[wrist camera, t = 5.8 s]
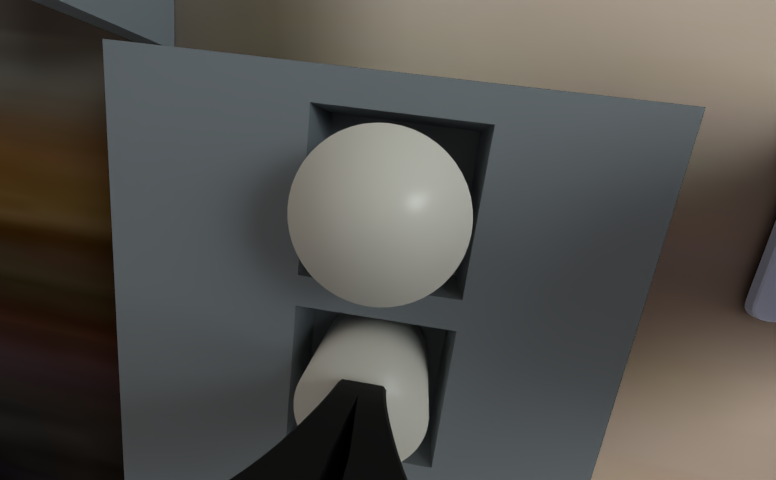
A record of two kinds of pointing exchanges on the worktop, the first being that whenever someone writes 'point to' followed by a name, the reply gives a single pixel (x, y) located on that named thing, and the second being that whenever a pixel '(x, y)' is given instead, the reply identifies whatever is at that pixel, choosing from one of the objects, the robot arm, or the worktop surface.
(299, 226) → the button
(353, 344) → the button
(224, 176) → the board
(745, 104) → the worktop surface
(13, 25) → the worktop surface
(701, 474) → the worktop surface
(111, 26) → the card
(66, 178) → the worktop surface
